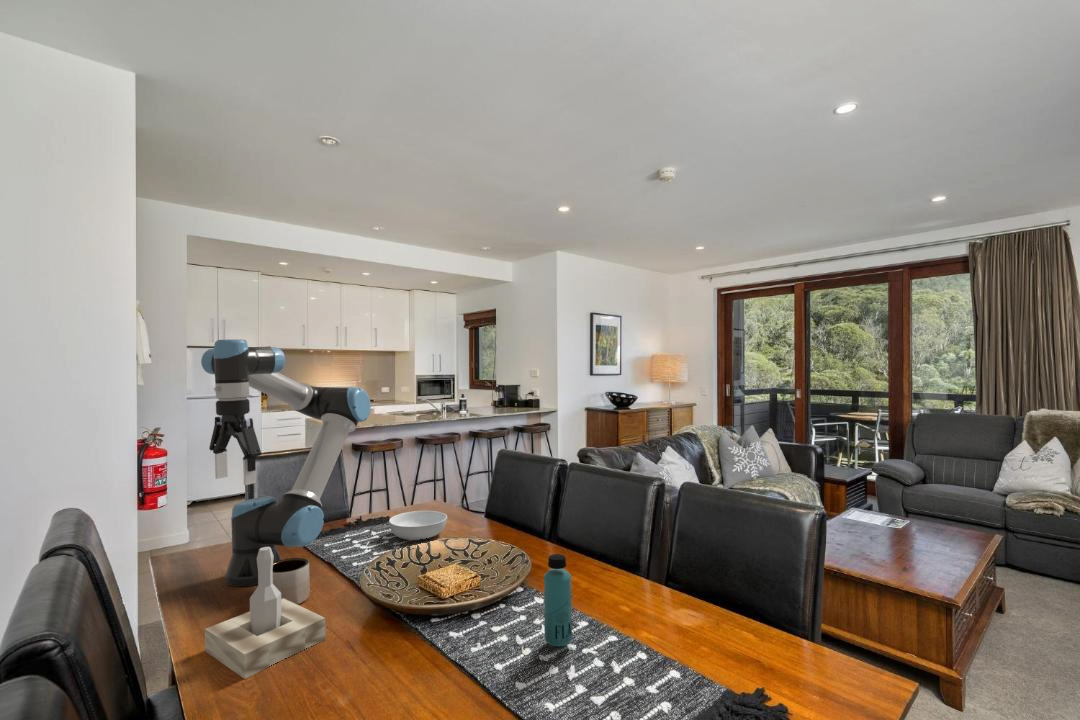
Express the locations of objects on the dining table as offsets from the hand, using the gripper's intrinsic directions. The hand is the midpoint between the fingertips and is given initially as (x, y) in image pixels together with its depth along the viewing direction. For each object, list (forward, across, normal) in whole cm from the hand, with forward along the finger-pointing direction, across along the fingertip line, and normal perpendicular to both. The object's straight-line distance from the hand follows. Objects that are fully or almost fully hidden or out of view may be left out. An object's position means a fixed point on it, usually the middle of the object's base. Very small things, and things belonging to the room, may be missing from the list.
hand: (235, 480), depth 135 cm
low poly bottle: (+34, +23, -6) cm, 41 cm away
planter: (+34, +6, +10) cm, 36 cm away
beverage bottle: (+34, +80, +27) cm, 91 cm away
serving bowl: (+36, -1, +65) cm, 74 cm away
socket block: (+33, +23, -6) cm, 41 cm away
